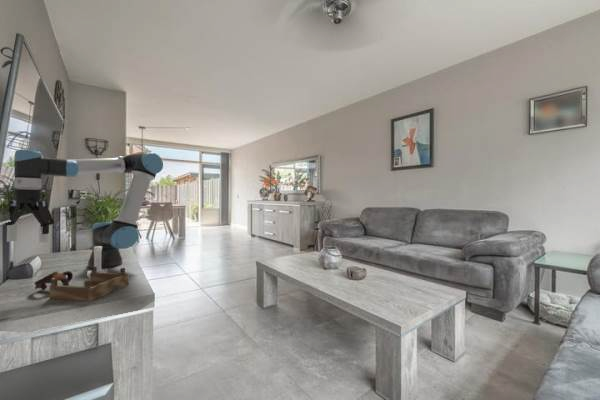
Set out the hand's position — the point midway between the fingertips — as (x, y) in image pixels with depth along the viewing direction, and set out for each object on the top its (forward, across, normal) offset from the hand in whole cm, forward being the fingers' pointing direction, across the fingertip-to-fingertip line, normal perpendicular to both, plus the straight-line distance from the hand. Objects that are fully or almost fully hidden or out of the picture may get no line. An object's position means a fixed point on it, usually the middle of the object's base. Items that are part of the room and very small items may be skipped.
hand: (27, 241), depth 104 cm
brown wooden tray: (+19, +27, 0) cm, 33 cm away
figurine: (+19, +18, +13) cm, 29 cm away
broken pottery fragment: (+19, +13, 0) cm, 23 cm away
